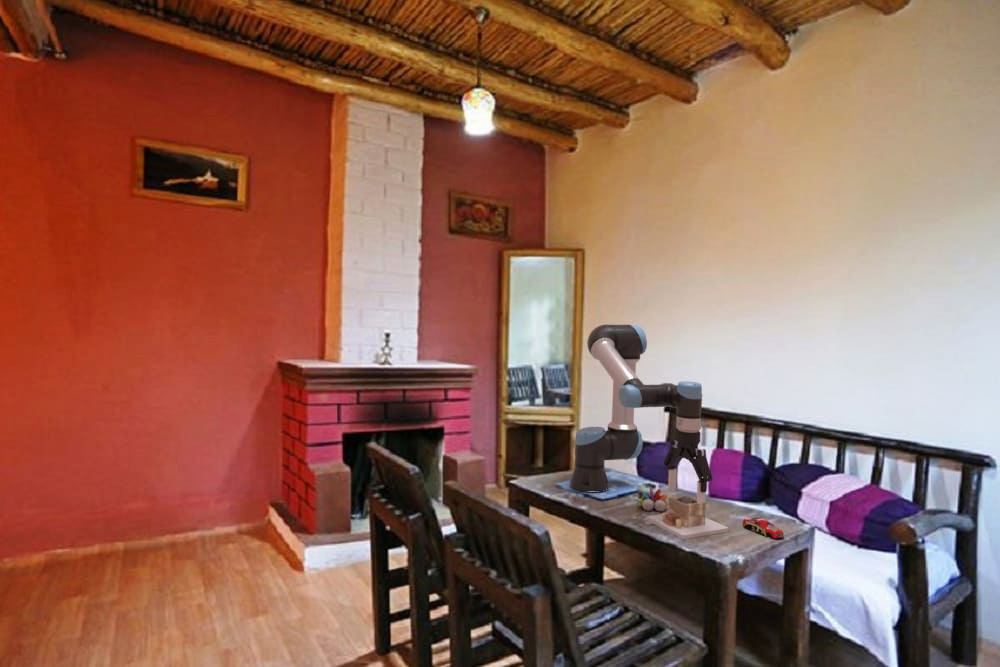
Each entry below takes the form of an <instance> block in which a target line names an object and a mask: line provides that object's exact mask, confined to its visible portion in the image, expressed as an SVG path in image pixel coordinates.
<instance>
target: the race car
mask: <svg viewBox="0 0 1000 667" xmlns="http://www.w3.org/2000/svg"><path fill="white" fill-rule="evenodd" d="M742 527H743V528H745V530H748V531H752V532H753V533H756V534H758V535H761V536H764V537H770V538H774V539H773V540H776V539H775V538H778V539H780V538H781V539H783V538H784V531H783V530H781V529H780V528H779V527H777V526H775V524H774V523H772V522H770V521H769V520H767V519H764V518H761V517H745V518H743V520H742ZM770 538H769V539H770ZM778 539H777V540H778Z"/></svg>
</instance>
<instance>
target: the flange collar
mask: <svg viewBox="0 0 1000 667" xmlns="http://www.w3.org/2000/svg"><path fill="white" fill-rule="evenodd" d="M688 496H689V497H692V503H689V504H685V503H683V502H682V496H676V497H675V496H674V497H669V498H668V513H669V514H665V524H667V525H669V526H676V519H680V520H681V526H683V527H685V528H687V527H693V526H700V525H705V517H706V509H707V507H706V505H707V503H706V501H705V502H699V503H698V502H697V498H695V497H693V496H691V495H688Z"/></svg>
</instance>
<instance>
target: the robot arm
mask: <svg viewBox="0 0 1000 667" xmlns="http://www.w3.org/2000/svg"><path fill="white" fill-rule="evenodd" d="M586 344H587V349H588V352H589V353H590V355H591V357H592V358H593V359H595V360H598V362H599V363H600V364H601V366H602V367H603V368H604V370H605V371H606V372H607V374H608V375H609V376H610V378H611V379H612V381H613V382H612V384H613V385H612V402H611V403H612V405H611V406H612V407H611V409H612V410H611V421H610V422H609V423H608V424H607V430H606V429H605V427H602V426H588V427H583V428H580V429H579V430H577V431H576V433H575V439H574V468H573V472H572V474H571V478H570V480H569V483H570V484H569V486H570V488H571V489H573V491H577V490H579V491H578V492H582V491H603V490H606V489H608V488H609V489H610V486H609V484H610V482H609V479H608V476H607V473H606V470H605V462H606V461H615V460H616V461H619V460H624V461H627V460H633V459H636V458H638V457H639V455H641V453H642V450H643V444H644V443H643V442H644V441H643V435H642V433H641V432H640V430H639V429H638V425H636V424H635V422H634V421H635V409H637V408H638V409H641V408H667V407H668V408H669V407H670V408H674V409H676V423H675V424H676V427H675V428H676V430H675V440H670V443H669V445H670V446H669V448H668V451H667V453H666V456H665V458H664V461H663V466H666V469H667V479H668V481H667V482H668V483H667V484H668V485H667V486H668V487H667V489H668V490H676V489H677V476H678V469H677V466H678V465H679V463H680V462H681V460H682V459H685V460H687V461H689V462H690V463H691V465H692V467H693V470H694V472H695V474H696V476H697V478H698V481H697V484H696V485H697V487H696V499H697V502H698V503H699V502H705V503H706V494H707V491H708V490H707V489H708V482H713V476H712V472H711V468H710V466H709V462H708V459H707V450H706V449H705V448H699V444H700V442H701V434H702V433H701V430H702V404H703V394H702V392H703V389H702V384H701V383H699V382H696V381H683V380H682V381H678V383H677V385H676V384H674V383H670V382H669V383H668V382H663V383H659V384H644V383H643V382H642V381H641V379H640V378H639V377H638V376H637V374H636V373H637V371H636V370H637V363H638V362H639V361H640V360H641V355H643V354H644V353H645V352H646V350H647V345H648V340H647V335H646V333H645V331H644V329H643V328H642V327H641V326H640V325H635V324H601V325H598V326H596V327H595V328H593V330H592V331H591V332H590V333H589V335H588V338H587V342H586ZM609 489H608V490H609ZM606 491H607V490H606ZM603 492H604V491H603Z"/></svg>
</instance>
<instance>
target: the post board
mask: <svg viewBox="0 0 1000 667" xmlns="http://www.w3.org/2000/svg"><path fill="white" fill-rule="evenodd" d="M689 496H690V495H683V496H681V497H682V502H683V503H685V504H689V503H692V497H693V496H690V497H689ZM665 514H669V512H668V513H667V512H664V511H662V513H660V514H654V515H647V516H646V517H645V518H646V521H647V522H649V523H651V524H653V525H655V526H657V527H659V528H660V529H662V530H664V531H666V532H668V533H670V534H672V535H674V536H676V537H678V538H679V539H681V540H688V539H693V538H699V537H706V536H711V535H717V534H722V533H729V532H730V528H729V527H728V526H725V525H724V524H721V523H719V522H716V521H714V520H712V519H710V518H709V517H706V516H705V525H700V526H693V527H687V528H685V527H683V526H681V520H680V519H676V526H669V525H667V524H665Z"/></svg>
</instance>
